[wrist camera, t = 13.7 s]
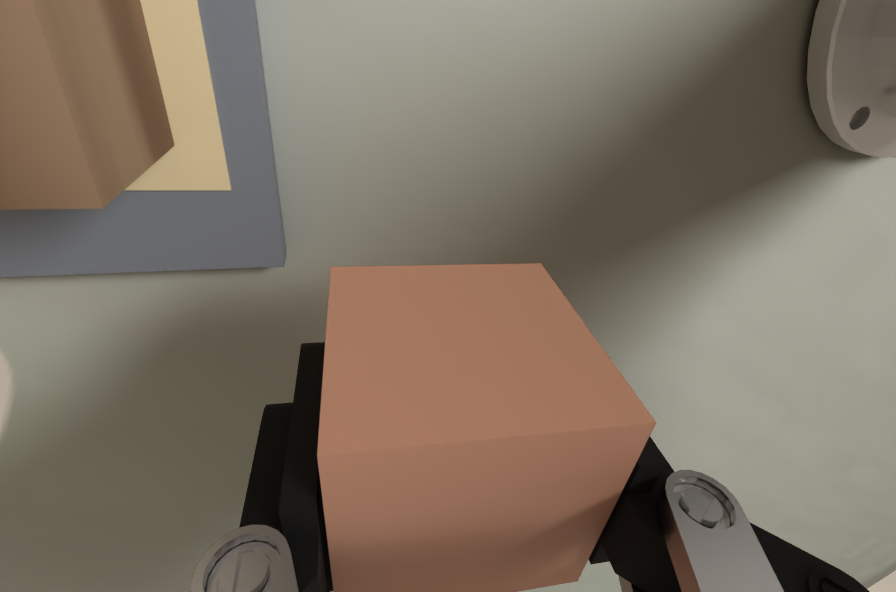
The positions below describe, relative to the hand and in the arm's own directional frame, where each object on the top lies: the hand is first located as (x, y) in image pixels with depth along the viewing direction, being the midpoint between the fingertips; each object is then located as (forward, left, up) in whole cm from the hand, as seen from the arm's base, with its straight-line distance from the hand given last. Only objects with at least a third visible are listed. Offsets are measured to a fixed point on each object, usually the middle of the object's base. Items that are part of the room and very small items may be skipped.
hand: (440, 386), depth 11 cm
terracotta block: (0, 0, -1) cm, 1 cm away
